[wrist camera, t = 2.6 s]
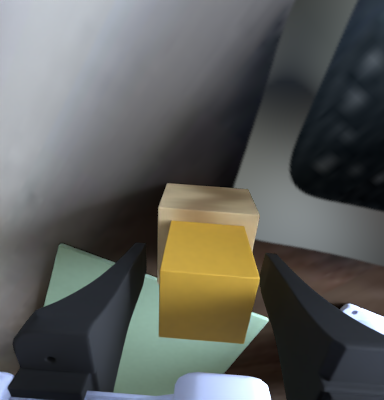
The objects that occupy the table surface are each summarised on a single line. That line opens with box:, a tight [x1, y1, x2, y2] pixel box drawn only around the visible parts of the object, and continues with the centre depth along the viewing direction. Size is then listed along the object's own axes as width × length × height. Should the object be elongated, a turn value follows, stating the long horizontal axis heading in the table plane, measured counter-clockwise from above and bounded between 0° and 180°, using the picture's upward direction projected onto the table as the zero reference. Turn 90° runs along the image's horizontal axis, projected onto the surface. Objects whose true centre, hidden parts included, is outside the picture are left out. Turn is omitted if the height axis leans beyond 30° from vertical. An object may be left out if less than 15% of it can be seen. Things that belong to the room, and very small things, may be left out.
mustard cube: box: [159, 221, 260, 344], centre depth 13 cm, size 4×4×4 cm
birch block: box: [157, 183, 260, 284], centre depth 17 cm, size 6×6×4 cm
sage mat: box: [44, 243, 268, 396], centre depth 26 cm, size 20×20×1 cm
